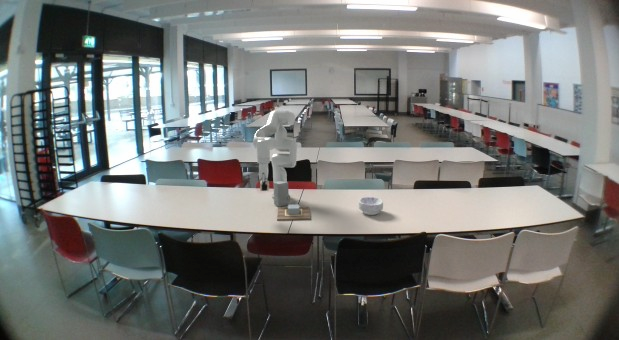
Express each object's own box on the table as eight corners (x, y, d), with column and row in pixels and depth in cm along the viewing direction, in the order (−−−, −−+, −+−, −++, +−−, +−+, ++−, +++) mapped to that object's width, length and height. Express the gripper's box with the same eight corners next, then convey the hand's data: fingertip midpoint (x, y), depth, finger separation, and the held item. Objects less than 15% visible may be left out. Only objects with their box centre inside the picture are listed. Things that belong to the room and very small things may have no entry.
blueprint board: (278, 208, 229) (277, 201, 228) (308, 207, 230) (308, 200, 229) (277, 220, 210) (276, 212, 208) (310, 219, 211) (310, 211, 209)
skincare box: (278, 207, 232) (278, 184, 228) (273, 204, 237) (272, 181, 233) (289, 204, 236) (289, 182, 232) (283, 201, 242) (283, 179, 238)
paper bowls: (364, 218, 212) (364, 205, 210) (354, 209, 227) (354, 198, 225) (387, 215, 216) (387, 203, 214) (376, 207, 231) (376, 195, 229)
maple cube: (261, 188, 216) (260, 180, 215) (269, 188, 216) (268, 180, 215) (260, 190, 211) (260, 183, 210) (268, 190, 211) (268, 182, 210)
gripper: (258, 157, 217) (259, 185, 222) (255, 163, 201) (257, 193, 205) (270, 156, 218) (271, 184, 222) (269, 163, 201) (270, 193, 206)
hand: (264, 188), depth 214 cm, fingers closed on maple cube, 4 cm apart
